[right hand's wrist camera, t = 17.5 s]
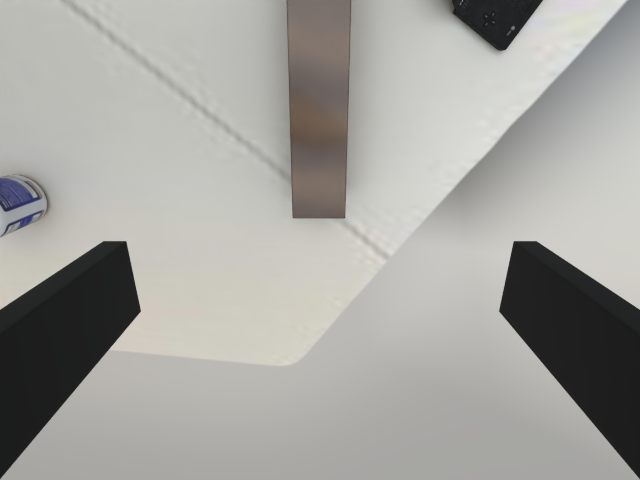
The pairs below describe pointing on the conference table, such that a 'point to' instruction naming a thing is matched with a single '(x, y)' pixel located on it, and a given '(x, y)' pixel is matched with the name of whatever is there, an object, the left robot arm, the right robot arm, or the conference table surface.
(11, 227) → the pill bottle
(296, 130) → the bar
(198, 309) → the conference table surface
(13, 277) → the conference table surface
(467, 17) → the handheld gaming console
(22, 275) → the conference table surface
